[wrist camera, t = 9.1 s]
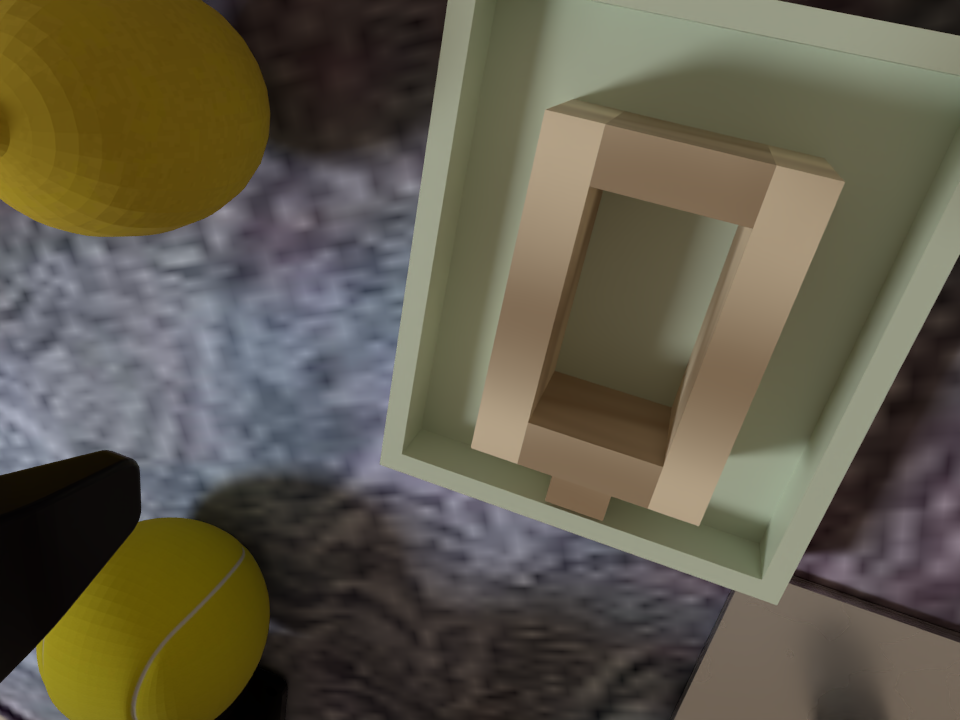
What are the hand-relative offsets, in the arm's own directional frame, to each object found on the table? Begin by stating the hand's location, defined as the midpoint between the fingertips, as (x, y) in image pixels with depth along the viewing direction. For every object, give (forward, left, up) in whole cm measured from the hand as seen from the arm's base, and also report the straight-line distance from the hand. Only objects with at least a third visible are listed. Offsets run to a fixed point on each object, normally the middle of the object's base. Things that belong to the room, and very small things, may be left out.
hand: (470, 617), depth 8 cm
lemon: (+3, +11, -12) cm, 17 cm away
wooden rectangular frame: (+1, -1, -11) cm, 11 cm away
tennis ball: (-14, +11, -12) cm, 22 cm away
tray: (+1, -1, -12) cm, 12 cm away
